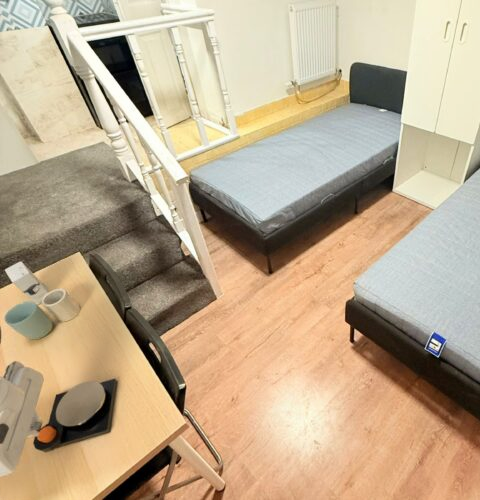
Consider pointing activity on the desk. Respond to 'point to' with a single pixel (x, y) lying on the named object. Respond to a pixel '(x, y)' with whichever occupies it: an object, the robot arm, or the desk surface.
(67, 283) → the desk surface
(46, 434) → the tare button
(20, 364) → the robot arm
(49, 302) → the white cup
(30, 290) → the ink box
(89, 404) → the scale pan
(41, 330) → the cup
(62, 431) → the scale
